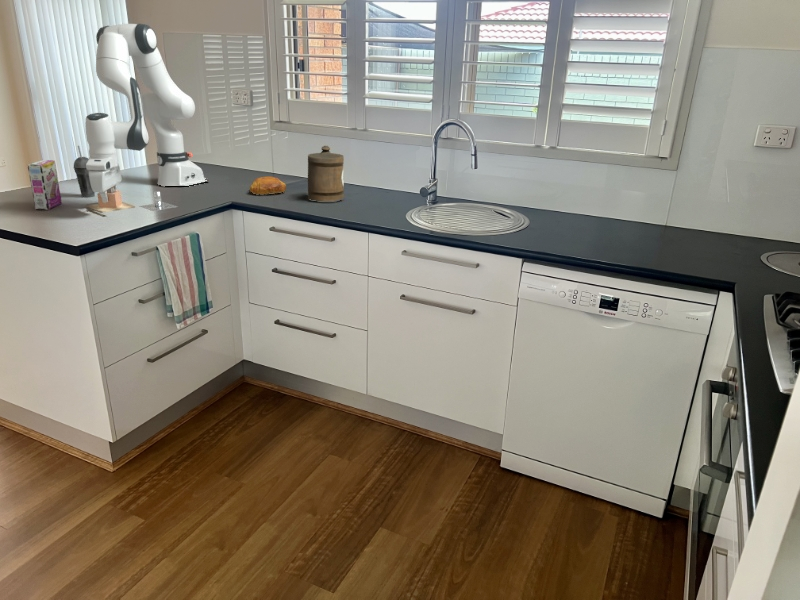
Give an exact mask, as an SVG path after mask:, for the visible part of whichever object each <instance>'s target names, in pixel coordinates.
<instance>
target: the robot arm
mask: <svg viewBox="0 0 800 600" xmlns="http://www.w3.org/2000/svg"><path fill="white" fill-rule="evenodd" d="M95 37H96V45H97V46H96V47H97V48H96V55H95V56H96V57H95V72H96V76H97V78H98V79H99V81H100V82H101V83H102V84H103V85H104V86H105V87H107V88H109V89H111V90H112V91H115V92H118V93H120V94H123V95H124V96H125V97H126V98H127V101H128V102H127V104H128V109H129V115H130V120H129V121H114V120H113V121H112V120H111V117H110V115H109V114H108V113H104V112H95V113H89V114H88V115H86V116H85V137H86V142H87V144H88V147H89V148H88V154H89V157H88V159H89V160H88V162H87V164H86V168H87V170H89V179H90V184H91V188H92V190H93V192H95V193H99V194H100V196H101V197H102V202H103V203H107V202H108V201H109V198H108V197H107V194H106V193H107V190H108V189H110V188H111V187H114V191H118V184H120V183H122V173H121V168H120V165H119V160H118V154H117V153H118V152H117V150H131V151H142V150H143V149H145V148H146V147H147V146H148V145H149V140H150V139H149V131H148V128H147V123H146V120H147V121H148V122H149V124H150V126H151V127H152V129H153V132H154V136H155V141H156V150H157V151H156V159H157V165H158V177H157V178H158V180H157V184H158V186H159V185H161V187H165V186H189V185H193V184H197V183H201V182H205V181H207V180H205V179H206V178H207V177H205V176H204V171H203V169H202V168H201V167H200V166H198V165H197V164H196V163H194V162H192V161H191V160H190V159H189V158H193V152H186V151H185V145H184V135H183V132H182V131H180V129H178V128H177V127H175V125H174V124H173V122H172V120H173V121H174V120H175V121H184V120H190V119H191V118H192V117H193V116H194V114H195V112H196V105H195V104H196V103H195V101H194V99H193V98H192V97H191V96H190V95H188V94H187V93H185V92H184V91H183V90H181V89H180V87H178V86H177V84H176V83H175V82H174V81H173V79H172V78H171V76H170V74H169V72H168V70H167V67H166V65H165V62H164V60H163V57H162V55H161V52H160V50H159V48H158V47H157V46H158V39H157V38H158V37H157V35H156V33H155V31H154V30H153V28H152V27H151V26H150V25H149V24H145V23H122V24H115V25H114V24H113V25H105V26H102V27H100V28H98V31H97V32H96V36H95ZM130 57H131V60H132V62H133V65H134V67H135V69H136V71H137V74H138V77H139V78H140V81H141V83H142V85H143V86H144V87H146V88H147V89H149V90H150V91H147V92H143V93H141V88H140V86H139V83H138V81H137V80H136V79H135V78H134V77H132V74H131V71H130V70H131V69H130ZM157 184H156V185H157ZM189 187H190V186H189Z"/></svg>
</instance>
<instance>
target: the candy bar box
mask: <svg viewBox="0 0 800 600" xmlns="http://www.w3.org/2000/svg"><path fill="white" fill-rule="evenodd" d="M27 169H28V174H29V181H30V186H31V192H32V197H33V202H34V204H33V205H34V208H35V209H34V210H36V209H42V210H41V211H49V210H51V209H52V208H56V207H57V206H60V205H61V204H62V203H63V202H62V196H61V191H60V185H59V179H58V172H57V166H56V161H55V160H52V159H51V160H49V159H48V160H47V159H44V160H43V159H42V160H41V159H40V160H39V161H35V162H32V163H29V164H27Z"/></svg>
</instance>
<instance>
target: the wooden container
mask: <svg viewBox="0 0 800 600" xmlns="http://www.w3.org/2000/svg"><path fill="white" fill-rule="evenodd" d="M330 150H331V148H330V147H329V146H328V145H323V146H321V152H316V153H315V152H314V153H309V154H308V155H307V199H308V198H309V199H311V200H316V201H335V200H339V199H342V198H343V199H344V189H345V188H344V185H345V184H344V183H345V182H344V179H345V178H344V162H345V161H344V159H345V158H344V155H343V154H340V153H335V152H334V153H331V151H330ZM309 199H308V200H309Z"/></svg>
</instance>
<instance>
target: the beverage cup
mask: <svg viewBox="0 0 800 600" xmlns="http://www.w3.org/2000/svg"><path fill="white" fill-rule="evenodd" d="M77 148H78V149H77V150H78V153H79V157H77V158H76V159H75V160H74V162H73V169H74V172H75V175H76V178H77V179H76V180H77V183H78V187H79V190H80V194H81V197H82V198H86V199H87V198H94V197H95V196H96V195H95V193H96V192H93V190H92V188H91V184H90V179H89V170H87V168H86V164H87V162H88V160H89V157H87V156H82V152H81V149H80V145H77Z"/></svg>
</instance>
